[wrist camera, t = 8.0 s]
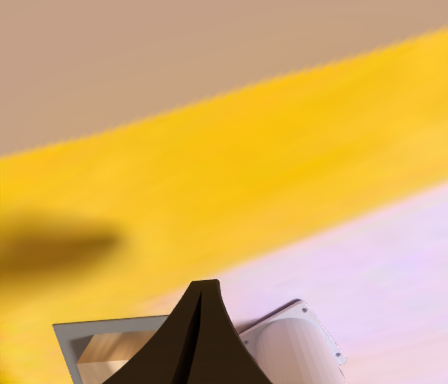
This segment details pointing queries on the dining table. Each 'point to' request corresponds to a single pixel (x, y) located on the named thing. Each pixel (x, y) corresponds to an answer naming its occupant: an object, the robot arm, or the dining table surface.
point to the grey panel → (84, 331)
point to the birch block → (110, 354)
